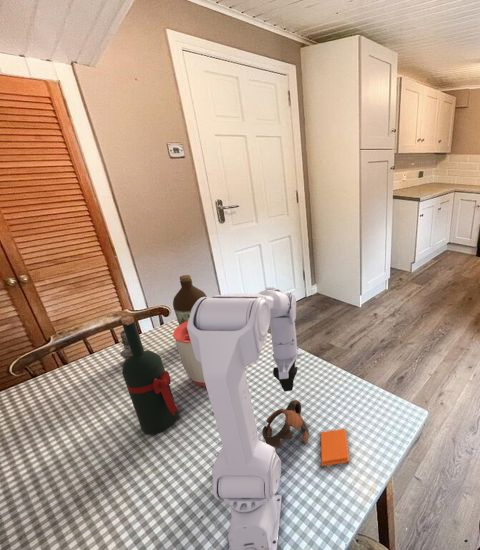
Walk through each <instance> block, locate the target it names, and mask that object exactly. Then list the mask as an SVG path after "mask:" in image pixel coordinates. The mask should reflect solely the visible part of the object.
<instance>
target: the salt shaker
mask: <svg viewBox="0 0 480 550" xmlns="http://www.w3.org/2000/svg"><path fill="white" fill-rule="evenodd" d="M119 336H120V338H121V342H120V343H121V344H122V345H123V350H122V351H121V352H120V356H122V358H124V359H125V361H126V359H128V358H129V357H130V356H131V355H132V352H131V349H130V346H129V343H128V340H127V337H126V334H125V331H124V328H123V330H122V331H120V333H119ZM125 361H124V362H125Z"/></svg>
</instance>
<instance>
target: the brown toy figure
mask: <svg viewBox="0 0 480 550" xmlns="http://www.w3.org/2000/svg"><path fill="white" fill-rule="evenodd" d="M282 414H283V415H284V417H285V420H284V424H283V426H282V427H281V429H280V430H279V431H278V432H277V433H276V434H275V435H273V428H272V427H271V425H272V423H273V422H274V420H275V419H276V418H277V417H278V416H280V415H282ZM301 414H302V404H301V402H300V401H299V400H298V399H292V400H290V401H289V403H288V405H287V406H286V408H285V409H284V408H280V409H277V410H275V411H273V412H272V413H271V414H269V416H268V418H267V419H266V423H267V425H264V426H263V428H262V431H261V434H262V435H261V436H262V438H263V439H264V442H265V443H266V444H268V445H270V446H272V447H274V448H278V449H282V445H281V444H282V441H291V440H293V439H294V437H295V436H294V435H293V433H292V430H291V428H294V429H295V430H297V431H298V430H302V431H303V432H302V436H301V438H300V439H301V441H302V442H303V443H304V444H305V445H306V444H307V443H308V440H309V437H310V430H309V428H308V426H307V424H306V423H305V420H304V419H303V417H302V416H301ZM272 435H273V436H272ZM281 440H282V441H281Z"/></svg>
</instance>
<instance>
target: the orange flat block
mask: <svg viewBox="0 0 480 550" xmlns="http://www.w3.org/2000/svg"><path fill="white" fill-rule="evenodd" d="M320 455H321V456H320V457H321V458H320V459H321V467H326V466H333V465H339V464H346V463H350V458H349V456H350V455H349V449H348V440H347V432H346V430H345V429H344V428H343V429H335V430H327V431H321V432H320Z"/></svg>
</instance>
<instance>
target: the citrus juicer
mask: <svg viewBox="0 0 480 550" xmlns="http://www.w3.org/2000/svg"><path fill="white" fill-rule="evenodd" d="M187 324H188V321H186V322H184V323H182V324H181V325H179V324H178V326H176V328H175V329H174V331H173V333H172V337H173V339H174V340H175V343H176V348H177V351H178V355H179V359H180V362H181V365H182V367H183V369H184V372H185V373H186V374H187V376H188V378H189V379H190V380H191V381H192V382H193V383H195V385H197V386H199V387H206V384H205V381H204V376H203V370H202V364H201V363H200V362H199V361H198V360H196V358H195V355H194V351H193V347H192V344H191V340H190V337H189V333H188V330H187Z"/></svg>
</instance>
